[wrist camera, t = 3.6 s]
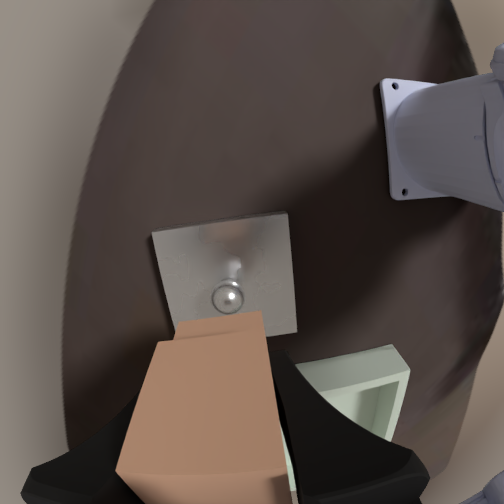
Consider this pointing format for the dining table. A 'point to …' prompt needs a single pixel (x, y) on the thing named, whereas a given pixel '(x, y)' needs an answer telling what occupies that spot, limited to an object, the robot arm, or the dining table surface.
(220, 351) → the light orange block
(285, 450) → the parts bin
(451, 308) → the dining table surface
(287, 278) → the stud plate
